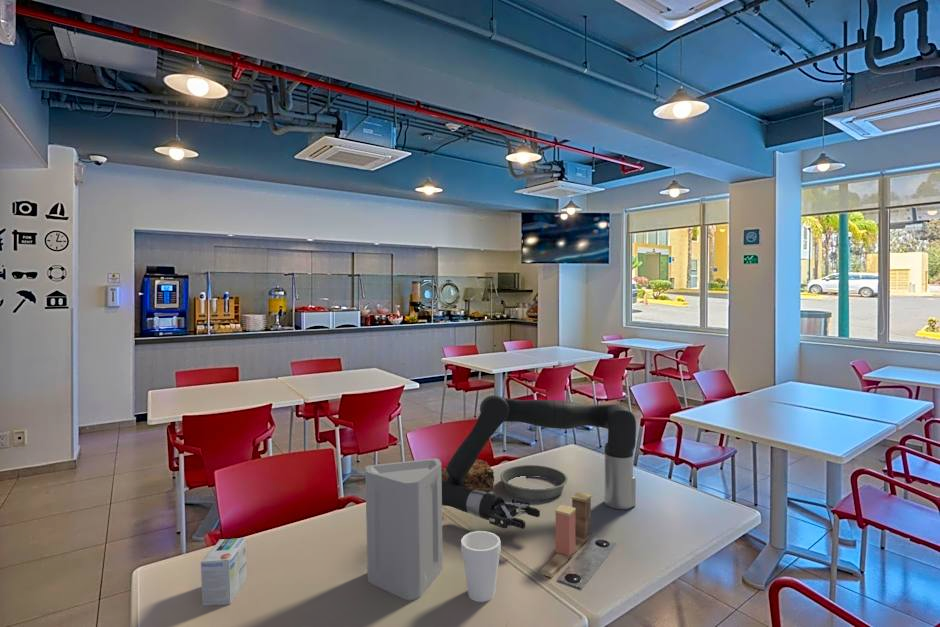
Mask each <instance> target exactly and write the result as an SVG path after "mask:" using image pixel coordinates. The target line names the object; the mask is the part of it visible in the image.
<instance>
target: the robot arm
mask: <svg viewBox="0 0 940 627" xmlns="http://www.w3.org/2000/svg"><path fill="white" fill-rule="evenodd" d="M479 406H480V407H479V410H480V413H479V415H478V418H477V420H476V422H475V424H474V426H473V428H472V429H471V431H470V432H469V434H468V435H467V436H466V438H465V439H464V440H463V442H462V443H461V444H460V446H458V448H457V449H456V451H455V452H454V454H453V455H452V458H450V460H449V462H448V463H447V465H446V467H445V468H446V472H447V473H448V474H449V475H448V478H447V480H446V482H445V481H442V506H444V507H450V508H454V509H456V510H459V511H461V512H464V513H466V514H467V513H468V514H470V515H472V516H474V517H477V518H480V519H484V520H486V521H488V522H489V524H490V525H493V526H496V527H498V528H502V529H508V527H510V528H511V527H514V528H518V529H520V530H521V529H522V530H524V529H526V520H525V519H521V518H517V517H520V516H522V515H528V516H531V517H534V518H539V517H540V515H541V511H540V509H539V508H535V507H534V506H533V507H532V506H530V505H531V502H530V501H527V500H522V499H517V498H511V502H506V501H505V500H504V498H503V497H502V496H501V495H499V494H498V495H497V494H494V493H491V492H484V491H478V490H473V489H470V488H465V487H462V485H463V482H464V479H465V477H466V475H467V474H468V472H469V471H470V469H471V467H472V466H473V464H474V462H475V461H476V460H478V457H479V456H480V453H481V452H482V450H483V449H484V447H485V446H486V444H487V442H488V441H489V440H490V438H491V437H492V436H493V435H494V433H496V431H497V430H498V429H499V427H501V425H502V424H503V423H504V422H512V423H513V422H515V423H517V422H518V423H525V424H529V425H532V426H537V427H542V428H548V429H549V428H550V429H560V430H567V429H575V428H580V427H586V426H587V427H597V428H603V429H606V430H607V442H606V443H605V444H604V504H605V505H606V506H607V507H609V508H612V509H615V510H629V509H632V507H636V494H637V493H636V491H637V490H636V486H637V484H636V483H637V482H636V477H635V476H634V450H635V448H636V442H637V441H636V439H637V422H636V421H637V420H636V417H635V415H634V414H633V412H632V411H630V410H629V409H627V408H626V407H625V406H622V405H620V404H617V403H615V404H614V403H612V404H611V403H610V404H609V403H608V404H606V403H605V404H588V403H586V404H585V403H580V402H572V401H565V400H557V399H556V400H555V399H554V400H553V399H529V400H528V399H527V400H524V399H523V400H521V399H514V398H508V397H502V396H500V395H499V396H498V395H493V394H492V395H489V396H486V397H485V398H484V399H483V400H482V401H481V403H480V405H479Z"/></svg>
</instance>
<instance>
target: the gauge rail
mask: <svg viewBox="0 0 940 627" xmlns="http://www.w3.org/2000/svg"><path fill="white" fill-rule="evenodd" d="M591 498H592V494H589V493H585V492H584V493H583V492H579V491H577V492H575V493H574V494H573V495H572V496H571V500H572V502H571V504H572V505H571V507H573V508H576V511H575V551H574V552H573V553H572V554H571V555H570V556H567V555H564V554H561V553H558V552H556V554H555V555H554V556H553V557H552V558H551V559H550V560H549V561H548V562H547V563H546V564H545V565H544V566H543V567H542V568H541V569H540V575H541V574H543V575H542V576H544V575H546V576H549V577H551V578H550V579H553V577H554V576H555V575H556V574H557V573H558V572H559V571H560V570H561V569H562V568H561V566H562V565H563V566H564V565H566V563H567V562H568V561H569V560H570V559H571V558H572V557H573V556H574V555H575V553H576V552H577V551H578V550H579V549H580V548H581V547H582V546H583V545H584V544H585V543H586V542H585V541H588V539H590V535H591V534H592V533H591V532H592V529H591V527H592V520H591V519H592V513H591V512H592V509H591V508H592V507H591V506H592V501H591V500H592V499H591ZM584 542H585V543H584ZM573 554H574V555H573ZM572 555H573V556H572ZM571 556H572V557H571ZM570 557H571V558H570ZM569 558H570V559H569ZM568 559H569V560H568ZM563 566H562V567H563ZM560 568H561V569H560ZM559 569H560V570H559ZM558 570H559V571H558ZM557 571H558V572H557ZM556 572H557V573H556ZM555 573H556V574H555ZM554 574H555V575H554ZM553 575H554V576H553ZM546 576H545V577H546ZM552 576H553V577H552ZM549 577H548V578H549Z"/></svg>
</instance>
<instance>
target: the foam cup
mask: <svg viewBox="0 0 940 627" xmlns="http://www.w3.org/2000/svg"><path fill="white" fill-rule="evenodd" d="M501 542H502V541H501V539H500V536H498V535H497V534H496V533H494V532H490V531H485V530H475V531H470V532H468V533H466V534H464V535H463V537H462V538H461V539H460V551H461V554H462V560H463V566H464V568H463V569H464V573H465V580H466V581H465V582H466V589H467V594H468V597H469V598H470V600H472V601H475V602H477V603H485V602H489V601H491V600H492V599H494V597H495V595H496V586H497V577H498V571H499V562H500V561H499V560H500V554H501V551H502V546H501V545H502V544H501Z"/></svg>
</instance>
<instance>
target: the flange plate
mask: <svg viewBox="0 0 940 627" xmlns="http://www.w3.org/2000/svg"><path fill="white" fill-rule="evenodd" d="M616 546H617V543H616V542H612V541H609V540H606V539H603V538H600V537H599V538H598V537H593V538H592V539H591V541H590V542H589V543H588V544H587V545H586V546H585V548H583V549H582V551H581V552H580V553H579V554H578V555H577V556H576V558H574V559H573V560H572V561H571V563H570V564H569V565H568V566H567V567H566V568H564V571H563V572H562V573H561V574H560V575H559V576H558V577H557V579H556V580H559V581H558V582H560V581H562V582H561V583H563V582H565V583H564V584H566V583H568V584H571V585H574V586H577V587H579V588H582V587H583V586H584V585H586V584H587V583H588V582H589V580H591V578H592V577H591V576H593V575H594V574H595V573H596V572H595V571H597V570H599V568H600V567H601V565H602V564H603V563H604V561H605V560H606V559H607V558H608V556H609V555H610V554H611V552H612V551H613V550H614V549H615V548H616ZM599 566H600V567H599ZM590 577H591V578H590ZM587 581H588V582H587ZM586 582H587V583H586ZM585 583H586V584H585ZM568 584H567V585H568ZM571 585H570V586H571ZM574 586H573V587H574ZM577 587H576V588H577ZM584 587H585V586H584ZM584 587H583V588H584ZM579 588H578V589H579ZM583 588H582V589H583Z"/></svg>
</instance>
